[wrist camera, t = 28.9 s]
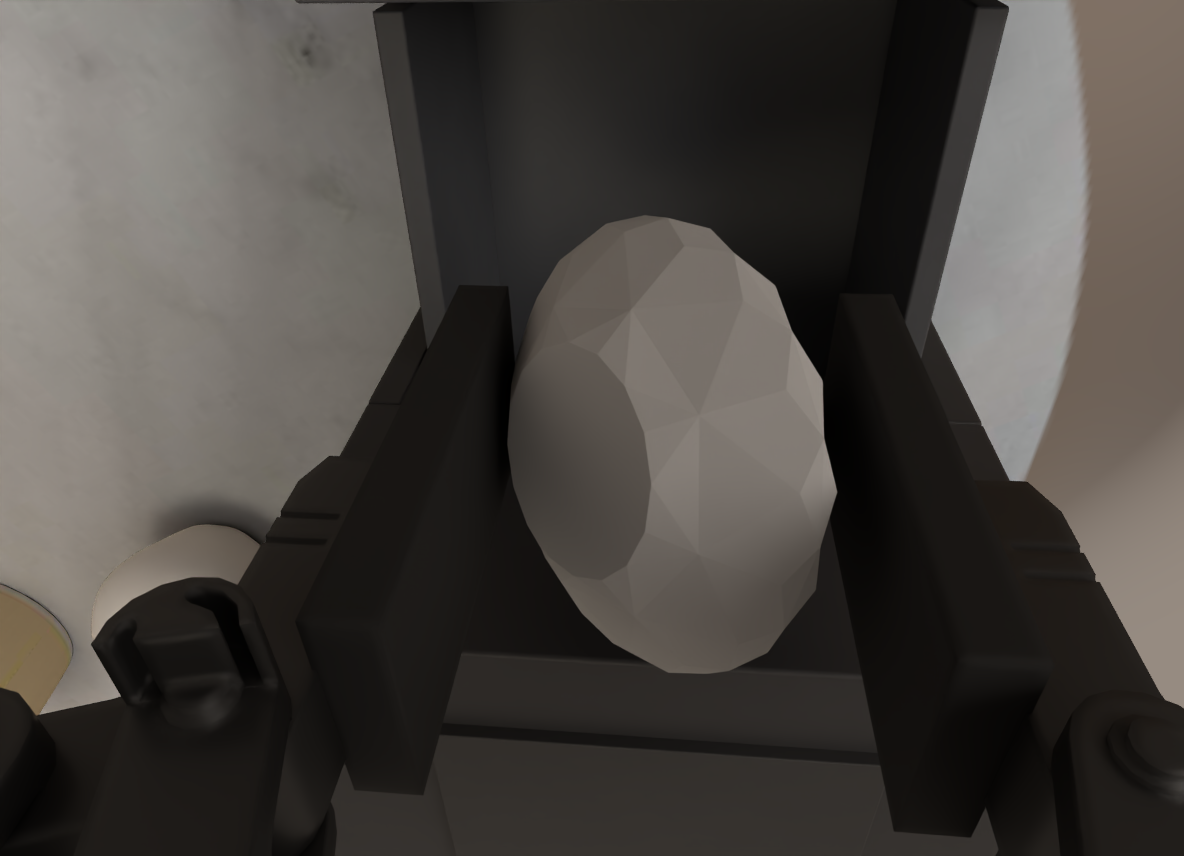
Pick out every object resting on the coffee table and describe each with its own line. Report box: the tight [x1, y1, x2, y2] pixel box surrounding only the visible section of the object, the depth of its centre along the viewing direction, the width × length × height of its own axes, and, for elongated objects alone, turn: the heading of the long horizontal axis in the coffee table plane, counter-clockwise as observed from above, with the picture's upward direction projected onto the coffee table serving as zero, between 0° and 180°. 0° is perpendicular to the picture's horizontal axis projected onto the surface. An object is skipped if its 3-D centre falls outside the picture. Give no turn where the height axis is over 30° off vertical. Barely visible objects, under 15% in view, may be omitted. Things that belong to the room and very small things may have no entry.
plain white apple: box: [91, 524, 261, 641], centre depth 33 cm, size 7×7×8 cm
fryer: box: [331, 307, 1009, 856], centre depth 24 cm, size 14×14×16 cm
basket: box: [295, 0, 1009, 387], centre depth 15 cm, size 25×14×15 cm, turn 1°
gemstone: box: [507, 215, 837, 674], centre depth 12 cm, size 6×6×5 cm
